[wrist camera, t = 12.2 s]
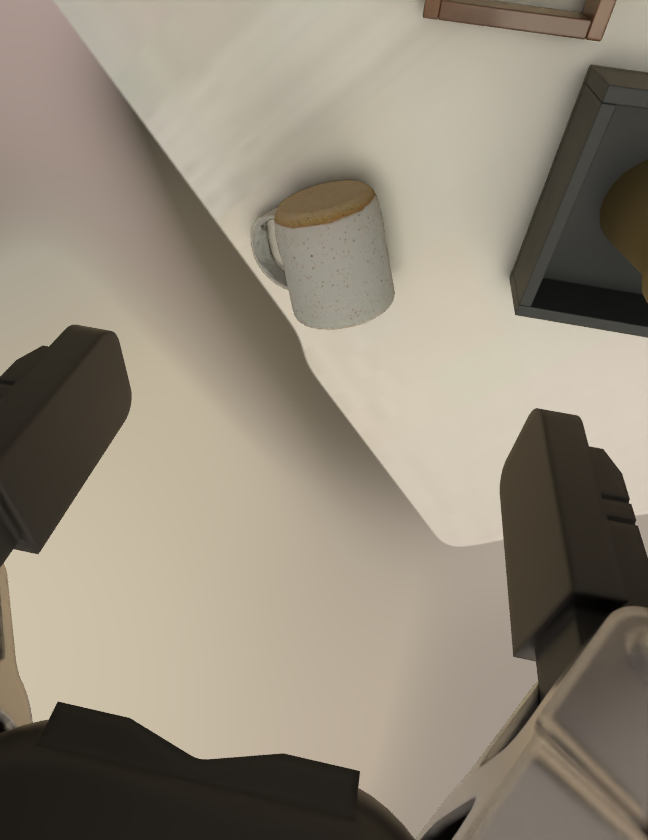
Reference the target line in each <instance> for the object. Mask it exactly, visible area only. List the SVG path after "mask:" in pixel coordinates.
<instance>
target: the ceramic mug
mask: <svg viewBox="0 0 648 840" xmlns="http://www.w3.org/2000/svg"><path fill="white" fill-rule="evenodd" d="M271 219H275V235H276V240H277V244H278V248H279V252H280V255H281V258H282V262H283V267H284V270H282V269H281V268H280V267H279V266H278V265H277V264H276V262H275V261H274V259H273V257H272V256H271V253H270V249H269V243H268V238H267V234H268V233H267V229H266V224H267V221H268V220H271ZM251 245H252V250H253V254H254V257H255V259H256V261H257V263H258V265H259V267H260V268H261V270H262V271H263V273H264V274H265V275H266V276H267V277H268V278H269V279H270V280H272V281H273V282H274V283H275V284H277V285H279V286H280V287H282V288H284V289H287V290H289V294H290V299H291V304H292V308H293V312H294V315H295V316H296V318H297V320H298V321H299V322H300V323H302V324H304V325H306V326H308V327H312V328H316V329H326V330H331V329H333V330H334V329H342V328H348V327H353V326H356V325H360V324H363V323H366V322H368V321H370V320H372V319H374V318H376V317H377V316H379V315H380V314H382V313H383V312H385V311H386V310H387V309H388V308H389V306H390V305H391V303H392V302H393V299H394V294H395V292H394V284H393V279H392V274H391V268H390V261H389V255H388V249H387V244H386V239H385V232H384V225H383V219H382V213H381V209H380V206H379V202H378V199H377V196H376V194H375V192H374V190H373V189H372V188H371V187H370V186H368V185H366V184H365V183H363V182H360V181H356V180H343V181H333V182H328V183H323V184H319V185H315V186H311V187H309V188H306V189H303V190H301V191H299V192H296V193H294V194H292V195H291V196H289V197H287V198H286V199H285V200H283V201H282V202H281V203H280V204H279V206H278V208H276V209H273V210H270V211H269V212H267V213H266V214H264V215H262V216H261V217H260V218H258V219H257V220H256V221H255V223H254V225H253V227H252V231H251Z"/></svg>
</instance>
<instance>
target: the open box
mask: <svg viewBox="0 0 648 840" xmlns="http://www.w3.org/2000/svg"><path fill="white" fill-rule="evenodd" d="M646 160H648V73H646V72H639V71H632V70H624V69H617V68H610V67H603V66H595V65H590V66H589V69H588V72H587V74H586V77H585V80H584V82H583V85H582V88H581V90H580V93H579V96H578V98H577V101H576V104H575V106H574V109H573V111H572V114H571V117H570V119H569V122H568V125H567V127H566V130H565V133H564V135H563V138H562V141H561V143H560V146H559V149H558V151H557V154H556V157H555V159H554V162H553V164H552V167H551V170H550V172H549V175H548V178H547V180H546V183H545V186H544V188H543V191H542V194H541V196H540V199H539V202H538V204H537V207H536V209H535V212H534V215H533V217H532V220H531V223H530V225H529V228H528V231H527V233H526V236H525V239H524V241H523V244H522V247H521V249H520V252H519V255H518V257H517V260H516V262H515V265H514V268H513V270H512V273H511V276H510V285H511V291H512V298H513V304H514V310H515V315H519V316H525V317H531V318H537V319H542V320H548V321H554V322H560V323H566V324H572V325H578V326H584V327H589V328H595V329H601V330H607V331H613V332H619V333H625V334H630V335H636V336H642V337H648V303H647V301H646V299H645V297H644V295H643V293H642V274H641V273H640V272H639V271H638V270H637V269H636V268H635V267H634V266H633V265H632V264H631V263H630V262H629V261H628V260H627V259H626V258H625V257H624V256H623V255H622V254H621V253H620V252H619V251H618V250H617V248H616V247H615V246H614V245H613V244H612V243H611V242H610V241H609V240H608V239H607V238H606V237H605V235H604V233H603V231H602V229H601V227H600V210H601V207H602V203H603V199H604V198H605V196H606V194H607V193H608V191H609V190H610V188H611V186H612V185H613V184H614V183H615V182H616V181H617V180H618V179H619V178H620V177H621V176H622V175H623V174H624V173H625V172H626V171H628V170H629V169H631V168H633V167H634V166H636V165H638V164H639V163H641V162H643V161H646Z"/></svg>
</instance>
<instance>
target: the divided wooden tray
mask: <svg viewBox="0 0 648 840" xmlns="http://www.w3.org/2000/svg"><path fill="white" fill-rule="evenodd" d="M615 3H616V0H586V3H585V6H584V9H583V12H582V13H580V12H573V11H565V10H557V9H550V8H542V7H534V6H527V5H519V4H512V3H504V2H496V1H489V0H425V6H424V12H423V18H429V19H439V20H444V21H452V22H459V23H466V24H474V25H481V26H489V27H496V28H504V29H511V30H518V31H526V32H533V33H541V34H548V35H556V36H563V37H571V38H578V39H585V38H586V39H587V40H593V41H601V40H602V37H603V35H604V32H605V29H606V27H607V24H608V22H609V19H610V16H611V14H612V11H613V8H614V6H615Z"/></svg>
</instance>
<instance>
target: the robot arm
mask: <svg viewBox="0 0 648 840" xmlns="http://www.w3.org/2000/svg"><path fill="white" fill-rule="evenodd" d="M130 406H131V388H130V384H129V380H128V375H127V372H126V367H125V363H124V359H123V355H122V351H121V347H120V343H119V339H118V337H117V336H116V334H115V333H114V332H112V331H108V330H102V329H97V328H91V327H86V326H80V325H71V326H69V327H67V328H66V329H65V330H64V331H63V332H62V333H61V335H60V336H59V337H58V338H57V339H56V340H55V341H54V342H53V343H52V344H51V345H50V346H49V347H48V346H41V347H39V348H38V349H36V350H34V351H32V352H30V353H28V354H27V355H25V356H23V357H21V358H19V359H18V360H16V361H15V362H14V363H13V364H12V365H11V366H10V367H9V368H8V369H7V370H6V372H4V373H3V375H2V376H0V840H648V557H647V554H646V551H645V548H644V544H643V541H642V538H641V535H640V531H639V528H638V526H636V525H635V522H636V518H635V515H634V512H633V508H632V505H631V504H629V495H628V492H627V489H626V485H625V482H624V479H623V476H622V473H621V472H620V470H619V469H618V468H617V466H616V465H615V464H614V463H613V461H612V460H611V459H610V457H609V456H608V455H607V453H606V452H605V451H604V450H603V449H600V448H594V447H589V446H588V442H587V438H586V434H585V430H584V426H583V423H582V420H581V418H580V417H579V416H577V415H571V414H566V413H560V412H554V411H549V410H543V409H538V408H536V409H534V410H533V411H532V412H531V413H530V415H529V417H528V418H527V420H526V422H525V424H524V426H523V428H522V430H521V432H520V434H519V436H518V438H517V440H516V442H515V444H514V446H513V448H512V450H511V452H510V454H509V456H508V457H507V459H506V462H505V464H504V467H503V470H502V475H501V481H500V501H501V513H502V525H503V537H504V549H505V560H506V573H507V585H508V596H509V609H510V621H511V633H512V645H513V656H514V657H517V658H522V659H527V660H531V661H536V665H537V674H538V681H537V682H536V683H535V684H534V685H533V687H532V688H531V689H530V691H529V692H528V693H527V695H526V696H525V697H524V699H523V700H522V702H521V703H520V704H519V706H518V707H517V708H516V710H515V711H514V713H513V714H512V715H511V716H510V718H509V719H508V721H507V722H506V723H505V725H504V726H503V727H502V729H501V730H500V732H499V733H498V734H497V735H496V737H495V738H494V740H493V741H492V742H491V743H490V745H489V746H488V748H487V749H486V750H485V752H484V753H483V754H482V756H481V757H480V758H479V760H478V761H477V763H476V764H475V765H474V766H473V768H472V769H471V770H470V772H469V773H468V774H467V775H466V776H465V777H464V779H463V780H462V781H461V782H460V783H459V784H458V785H457V786H456V787H455V789H454V790H453V791H452V792H451V793H450V794H449V796H448V797H447V798H446V799H445V801H444V802H443V803H442V804H441V806H440V807H439V808H438V809H437V811H436V812H435V813H434V815H433V816H432V817H431V819H430V820H429V822H428V823H427V824H426V825H425V827H424V828H423V829H422V831H421V832H420V834H419V835H418V836H417V838H416V839H414V838H413V836H412V835H411V834H410V833H409V831H408V830H407V829H406V828H405V826H404V825H403V824H402V823H401V822H400V821H399V820H398V819H397V818H396V817H395V816H394V815H393V814H392V813H391V812H390V811H389V810H388V809H387V808H386V807H385V806H383V805H382V804H381V803H380V802H378V801H377V800H376V799H375V798H373V797H372V796H371V795H369V794H367V793H366V792H364V791H362V790H361V789H359V788H358V784H359V775H360V771H357V770H352V769H348V768H344V767H339V766H335V765H331V764H327V763H322V762H318V761H313V760H309V759H305V758H301V757H296V756H292V755H288V754H272V755H259V756H246V757H234V758H221V759H209V760H207V759H205V760H204V759H198V758H195V757H193V756H191V755H189V754H187V753H186V752H184V751H183V750H181V749H179V748H178V747H176V746H174V745H173V744H171V743H169V742H168V741H166V740H165V739H163V738H161V737H160V736H158V735H157V734H155V733H153V732H152V731H150V730H148V729H147V728H145V727H143V726H142V725H140V724H139V723H137V722H135V721H134V720H132V719H130V718H127V717H123V716H118V715H114V714H110V713H105V712H101V711H96V710H92V709H88V708H83V707H79V706H75V705H70V704H66V703H61V702H58V703H57V704H56V706H55V708H54V711H53V712H52V715H51V716H50V718H49V720H44V721H39V722H35V723H33V721H32V714H31V708H30V704H29V700H28V696H27V694H26V690H25V688H24V685H23V683H22V681H21V679H20V676H19V673H18V669H17V664H16V657H15V648H14V638H13V629H12V618H11V608H10V600H9V599H10V598H9V588H8V578H7V571H6V568H5V566H4V564H3V563H4V562H5V560H6V559H7V557H8V556H9V554H10V553H11V552H12V550H13V549H16V550H21V551H26V552H30V553H35V554H39V552H40V551H41V549H42V548H43V546H44V545H45V543H46V542H47V540H48V539H49V537H50V535H51V534H52V532H53V531H54V529H55V528H56V526H57V525H58V523H59V522H60V520H61V519H62V517H63V516H64V514H65V512H66V511H67V509H68V508H69V506H70V505H71V503H72V502H73V500H74V498H75V497H76V496H77V494H78V492H79V491H80V489H81V488H82V486H83V485H84V483H85V482H86V480H87V479H88V477H89V475H90V474H91V472H92V471H93V469H94V468H95V466H96V465H97V463H98V462H99V460H100V459H101V457H102V455H103V454H104V452H105V451H106V449H107V448H108V446H109V445H110V443H111V442H112V440H113V439H114V437H115V435H116V434H117V432H118V431H119V429H120V428H121V426H122V425H123V423H124V422H125V420H126V418H127V416H128V413H129V410H130Z"/></svg>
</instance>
